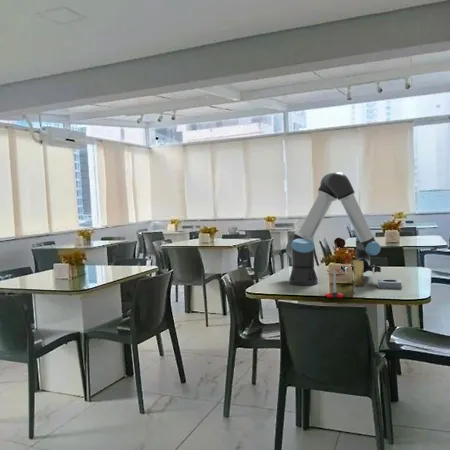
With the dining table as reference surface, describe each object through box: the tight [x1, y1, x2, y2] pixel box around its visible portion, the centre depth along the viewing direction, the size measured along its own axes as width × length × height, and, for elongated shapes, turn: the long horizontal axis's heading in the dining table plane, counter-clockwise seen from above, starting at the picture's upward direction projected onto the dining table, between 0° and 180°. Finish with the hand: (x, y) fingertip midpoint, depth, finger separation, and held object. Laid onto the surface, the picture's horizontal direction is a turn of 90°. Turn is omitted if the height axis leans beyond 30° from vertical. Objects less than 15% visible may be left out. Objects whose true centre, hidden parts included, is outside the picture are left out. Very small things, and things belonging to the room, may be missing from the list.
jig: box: [377, 278, 402, 290], centre depth 242 cm, size 11×10×3 cm
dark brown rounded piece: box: [333, 237, 346, 249], centre depth 298 cm, size 15×15×20 cm
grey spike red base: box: [324, 269, 344, 299], centre depth 224 cm, size 8×13×9 cm
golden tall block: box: [352, 259, 365, 288], centre depth 246 cm, size 5×5×13 cm
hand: (359, 271), depth 244 cm, fingers open, 13 cm apart
